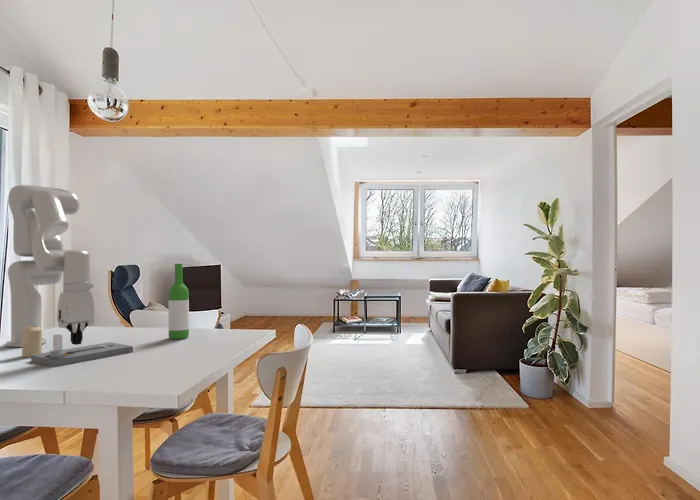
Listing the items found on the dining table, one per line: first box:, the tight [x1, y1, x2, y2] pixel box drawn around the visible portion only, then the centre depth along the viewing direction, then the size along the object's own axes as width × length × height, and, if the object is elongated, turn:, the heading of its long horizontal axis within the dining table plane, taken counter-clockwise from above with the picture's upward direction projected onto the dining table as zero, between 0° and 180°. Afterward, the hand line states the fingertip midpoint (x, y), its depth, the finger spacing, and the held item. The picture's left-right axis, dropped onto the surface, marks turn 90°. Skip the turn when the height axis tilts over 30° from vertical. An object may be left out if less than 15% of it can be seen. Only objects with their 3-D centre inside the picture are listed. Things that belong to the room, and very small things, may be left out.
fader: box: [48, 333, 66, 354], centre depth 152 cm, size 4×3×6 cm
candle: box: [21, 326, 43, 358], centre depth 160 cm, size 6×6×10 cm
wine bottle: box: [168, 263, 190, 340], centre depth 193 cm, size 8×8×30 cm
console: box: [30, 341, 134, 368], centre depth 159 cm, size 14×26×4 cm, turn 146°
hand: (76, 343), depth 157 cm, fingers closed
